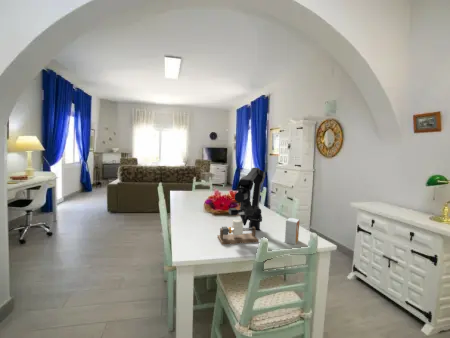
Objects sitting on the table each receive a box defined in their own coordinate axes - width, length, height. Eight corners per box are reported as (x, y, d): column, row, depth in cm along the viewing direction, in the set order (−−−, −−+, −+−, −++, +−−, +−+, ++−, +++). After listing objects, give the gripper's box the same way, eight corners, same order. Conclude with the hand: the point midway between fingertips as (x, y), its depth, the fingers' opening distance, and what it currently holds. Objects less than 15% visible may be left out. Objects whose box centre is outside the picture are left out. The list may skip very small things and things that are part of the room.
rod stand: (251, 235, 149) (252, 223, 148) (258, 242, 138) (259, 228, 138) (217, 237, 143) (217, 224, 143) (221, 244, 133) (222, 231, 132)
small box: (295, 244, 136) (296, 222, 135) (284, 242, 139) (285, 220, 138) (298, 240, 143) (299, 219, 142) (287, 238, 146) (289, 217, 145)
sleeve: (240, 232, 143) (240, 219, 142) (242, 234, 139) (242, 221, 138) (232, 232, 142) (232, 220, 141) (234, 235, 138) (234, 222, 137)
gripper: (234, 202, 130) (233, 230, 131) (265, 201, 134) (264, 228, 136) (228, 198, 140) (227, 224, 141) (258, 197, 145) (257, 223, 146)
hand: (244, 225), depth 141 cm, fingers closed
